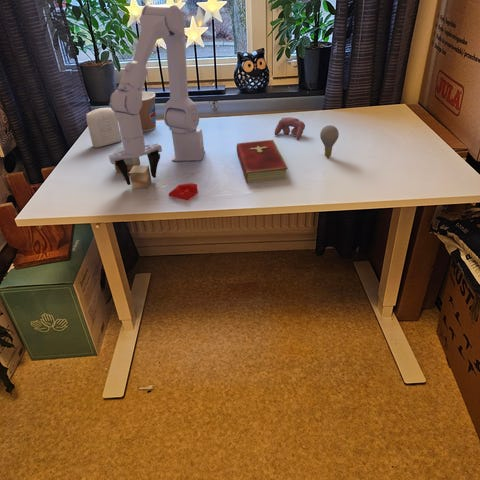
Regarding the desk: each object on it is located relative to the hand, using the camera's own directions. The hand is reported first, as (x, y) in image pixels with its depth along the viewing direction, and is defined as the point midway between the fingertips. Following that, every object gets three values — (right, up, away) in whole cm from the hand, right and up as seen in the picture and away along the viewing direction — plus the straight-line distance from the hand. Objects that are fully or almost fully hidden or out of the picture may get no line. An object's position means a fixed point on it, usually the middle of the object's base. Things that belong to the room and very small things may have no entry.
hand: (141, 180), depth 127 cm
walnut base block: (-6, +5, +10) cm, 13 cm away
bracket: (+13, -5, -5) cm, 15 cm away
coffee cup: (-7, +25, +38) cm, 46 cm away
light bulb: (+56, +8, +10) cm, 57 cm away
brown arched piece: (+46, +19, +26) cm, 56 cm away
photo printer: (-18, +16, +28) cm, 37 cm away
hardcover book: (+35, +5, +7) cm, 36 cm away
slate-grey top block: (-7, +7, +9) cm, 13 cm away
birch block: (0, -1, +1) cm, 2 cm away
